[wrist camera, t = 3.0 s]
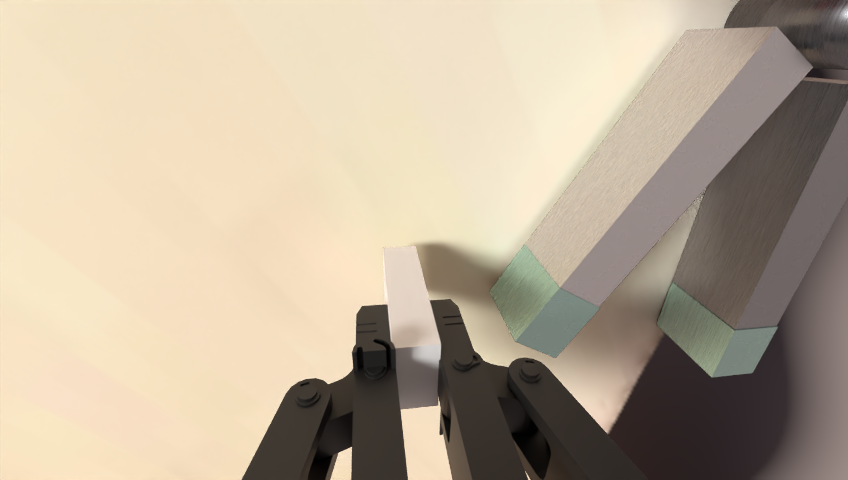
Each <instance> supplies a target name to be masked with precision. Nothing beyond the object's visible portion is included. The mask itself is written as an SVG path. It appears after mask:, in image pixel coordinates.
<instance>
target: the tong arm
mask: <svg viewBox="0 0 848 480" xmlns="http://www.w3.org/2000/svg"><path fill="white" fill-rule="evenodd" d="M812 68H813V66H812V65H811V64H810V63H809V62H808V61H807V60H806V59H805V57H804V56H803V55H802V54H801V53H800V52H799V51H798V50H797V49H796V47H795V46H794V45H793V44H792V43H791V42H790V41H789V40H788V39H787V37H786V36H785V35H784V34H783V33H782V32H781V31H780V30H779V29H778V27H751V28H725V29H700V30H686V31H685V33H684V34H683V35H682V37H681V38H680V39H679V41H678V42H677V43H676V45H675V46H674V47H673V49H672V50H671V51H670V52H669V54H668V55H667V56H666V58H665V59H664V60H663V62H662V63H661V64H660V66H659V67H658V68H657V70H656V71H655V72H654V74H653V75H652V76H651V78H650V79H649V80H648V82H647V83H646V84H645V86H644V87H643V88H642V90H641V91H640V92H639V94H638V95H637V96H636V98H635V99H634V100H633V102H632V103H631V104H630V106H629V107H628V108H627V110H626V111H625V112H624V114H623V115H622V116H621V118H620V119H619V120H618V121H617V123H616V124H615V125H614V127H613V128H612V129H611V131H610V132H609V133H608V135H607V136H606V137H605V139H604V140H603V141H602V143H601V144H600V145H599V147H598V148H597V149H596V151H595V152H594V153H593V155H592V156H591V157H590V159H589V160H588V161H587V163H586V164H585V165H584V167H583V168H582V169H581V171H580V172H579V173H578V175H577V176H576V177H575V179H574V180H573V181H572V183H571V184H570V185H569V187H568V188H567V189H566V190H565V192H564V193H563V194H562V196H561V197H560V198H559V200H558V201H557V202H556V204H555V205H554V206H553V208H552V209H551V210H550V212H549V213H548V214H547V216H546V217H545V218H544V220H543V221H542V222H541V224H540V225H539V226H538V228H537V229H536V230H535V232H534V233H533V234H532V236H531V237H530V238H529V240H528V241H527V242H526V244H524V246H523V247H522V248H521V250H520V251H519V252H518V254H517V255H516V256H515V258H514V259H513V260H512V262H511V263H510V264H509V266H508V267H507V268H506V270H505V271H504V272H503V274H502V275H501V276H500V278H499V279H498V280H497V282H496V283H495V284H494V286H493V287H492V288H491V290H490V293H491V295H492V297H493V299H494V301H495V303H496V305H497V307H498V309H499V311H500V313H501V315H502V317H503V319H504V321H505V323H506V325H507V327H508V329H509V330H510V332H511V334H512V336H513V338H514V340H515V342H518V343H520V344H523V345H525V346H527V347H530V348H532V349H535V350H537V351H540V352H542V353H545V354H547V355H549V356H552V357H554V358H556V357H557V356H558V355H559V354H560V352H561V351H562V350H563V349H564V348H565V347H566V346H567V345H568V344H569V342H570V341H571V340H572V339H573V338H574V337H575V336H576V335H577V333H578V332H579V331H580V330H581V329H582V328H583V327H584V326H585V325H586V323H587V322H588V321H589V320H590V319H591V318H592V317H593V316H594V315H595V313H596V312H597V311H598V310H599V309H600V308H599V306H600V305H601V304H602V303H603V302H604V301H605V300H606V298H607V297H608V296H609V295H610V294H611V293H612V292H613V291H614V290H615V288H616V287H617V286H618V285H619V284H620V283H621V282H622V281H623V279H624V278H625V277H626V276H627V275H628V274H629V273H630V272H631V271H632V269H633V268H634V267H635V266H636V265H637V264H638V263H639V262H640V260H641V259H642V258H643V257H644V256H645V255H646V254H647V253H648V251H649V250H650V249H651V248H652V247H653V246H654V245H655V244H656V243H657V241H658V240H659V239H660V238H661V237H662V236H663V235H664V234H665V232H666V231H667V230H668V229H669V228H670V227H671V226H672V225H673V224H674V222H675V221H676V220H677V219H678V218H679V217H680V216H681V215H682V213H683V212H684V211H685V210H686V209H687V208H688V207H689V206H690V204H691V203H692V202H693V201H694V200H695V199H696V198H697V197H698V196H699V194H700V193H701V192H702V191H703V190H704V189H705V188H706V187H707V185H708V184H709V183H710V182H711V181H712V180H713V179H714V178H715V177H716V175H717V174H718V173H719V172H720V171H721V170H722V169H723V168H724V166H725V165H726V164H727V163H728V162H729V161H730V160H731V159H732V157H733V156H734V155H735V154H736V153H737V152H738V151H739V150H740V149H741V147H742V146H743V145H744V144H745V143H746V142H747V141H748V140H749V138H750V137H751V136H752V135H753V134H754V133H755V132H756V131H757V130H758V128H759V127H760V126H761V125H762V124H763V123H764V122H765V121H766V119H767V118H768V117H769V116H770V115H771V114H772V113H773V112H774V110H775V109H776V108H777V107H778V106H779V105H780V104H781V103H782V102H783V100H784V99H785V98H786V97H787V96H788V95H789V94H790V93H791V91H792V90H793V89H794V88H795V87H796V86H797V85H798V84H799V83H800V81H801V80H802V79H803V78H804V77H805V76H806V75H807V74H808V72H809V71H810V70H811V69H812Z"/></svg>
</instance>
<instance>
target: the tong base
mask: <svg viewBox="0 0 848 480" xmlns="http://www.w3.org/2000/svg"><path fill="white" fill-rule="evenodd" d="M751 27H778V29H779V30H780V31H781V32H782V33H783V34H784V35H785V36H786V37H787V39H788V40H789V41H790V42H791V43H792V44H793V45H794V46H795V47H796V49H797V50H798V51H799V52H800V53H801V54H802V55H803V56H804V57H805V59H806V60H807V61H808V62H809V63H810V64H811V65H812V66H813V68H827V69H844V70H848V0H740V1H739V2H738V3H737V4H736V5H735V7H734V8H733V10H732V11H731V13H730V15H729V17H728V19H727V21H726V23H725V26H724V29H725V28H751ZM847 197H848V81H847V80H835V79H822V78H809V77H804V78H803V79H802V80H801V81H800V83H799V84H798V85H797V86H796V87H795V88H794V89H793V90H792V91H791V93H790V94H789V95H788V96H787V97H786V98H785V99H784V100H783V102H782V103H781V104H780V105H779V106H778V107H777V108H776V109H775V110H774V112H773V113H772V114H771V115H770V116H769V117H768V118H767V119H766V121H765V122H764V123H763V124H762V125H761V126H760V127H759V128H758V130H757V131H756V132H755V133H754V134H753V135H752V136H751V137H750V138H749V140H748V141H747V142H746V143H745V144H744V145H743V146H742V147H741V149H740V150H739V151H738V152H737V153H736V154H735V155H734V156H733V157H732V159H731V160H730V161H729V162H728V163H727V164H726V165H725V166H724V168H723V169H722V170H721V171H720V172H719V173H718V174H717V175H716V177H715V178H714V179H713V180H712V181H711V182H710V183H709V184H708V187H707V189H706V192H705V195H704V197H703V200H702V203H701V205H700V208H699V211H698V214H697V216H696V219H695V222H694V224H693V227H692V230H691V232H690V235H689V238H688V240H687V243H686V246H685V249H684V251H683V254H682V257H681V259H680V262H679V265H678V267H677V270H676V273H675V276H674V278H673V281H672V284H671V286H670V289H669V292H668V294H667V297H666V300H665V302H664V305H663V308H662V311H661V313H660V316H659V319H658V321H657V324H656V325H657V326H659V327H660V328H661V329H662V330H663V331H664V332H665V333H666V334H667V335H668V336H669V337H670V338H671V339H672V340H673V341H674V342H675V343H676V344H677V345H678V346H679V347H681V349H683V350H684V351H685V352H686V353H687V354H688V355H689V356H690V357H691V358H692V359H693V360H694V361H695V362H696V363H697V364H698V365H699V366H700V367H701V368H702V369H703V370H704V371H705V372H707V373H708V374H709V375H710V376H711V377H720V376H730V375H739V374H748V373H753V371H754V369H755V368H756V366H757V364H758V362H759V360H760V359H761V357H762V355H763V353H764V351H765V350H766V348H767V346H768V344H769V342H770V341H771V339H772V337H773V335H774V333H775V332H776V330H777V328H778V326H777V324H778V322H779V321H780V319H781V317H782V315H783V313H784V311H785V310H786V308H787V306H788V304H789V302H790V301H791V299H792V297H793V295H794V293H795V292H796V290H797V288H798V286H799V284H800V282H801V281H802V279H803V277H804V275H805V274H806V271H807V270H808V268H809V266H810V264H811V263H812V261H813V259H814V257H815V255H816V254H817V252H818V250H819V248H820V246H821V245H822V243H823V241H824V239H825V237H826V235H827V234H828V232H829V230H830V228H831V226H832V225H833V223H834V221H835V219H836V217H837V215H838V214H839V212H840V210H841V208H842V206H843V204H844V203H845V201H846V199H847Z"/></svg>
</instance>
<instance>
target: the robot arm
mask: <svg viewBox="0 0 848 480" xmlns="http://www.w3.org/2000/svg"><path fill="white" fill-rule="evenodd" d="M383 268H384V297H385V305H371V306H362V307H361V309H360V310H359V312H358V313H357V317H356V345H355V346H354V348H353V351H352V357H353V370H352V371H351V372H350V373H349V374H348V375H347V376H346V377H344V378H343V379H341V380H339V381H336V382H334V383H331V384H327V383H326V382H325V381H323V380H320V379H316V378H314V379H305V380H303V381H300V382H298V383H296V384H295V385H293V386H292V387H291V388H290V389H289V391H288V392H287V393H286V395H285V397H284V399H283V401H282V403H281V404H280V406H279V408H278V410H277V412H276V414H275V416H274V418H273V420H272V422H271V424H270V426H269V428H268V430H267V432H266V434H265V436H264V437H263V439H262V441H261V443H260V445H259V447H258V449H257V451H256V453H255V455H254V457H253V459H252V461H251V463H250V465H249V467H248V469H247V471H246V472H245V474H244V476H243V478H242V480H330V478H331V475H332V472H333V469H334V465H335V462H336V459H337V456H338V453H339V452H341V451H343V450H345V449H348V448H350V447H352V475H351V480H408V477H407V467H406V458H405V448H404V439H403V430H402V420H401V411H400V409H409V408H418V407H428V406H437V405H438V396H439V401H440V406H441V415H440V435H444V439H445V444H446V449H447V454H448V459H449V464H450V469H451V474H452V479H453V480H528V478H527V475H526V473H527V474H528V476H529V478H530V479H531V480H648V479H647V478H646V476H645V475H644V474H643V473H642V472H641V471H640V470H639V469H638V468H637V466H636V465H635V464H634V463H633V462H632V461H631V460H630V459H629V458H628V456H627V455H626V454H625V453H624V452H623V451H622V450H621V449H620V448H619V447H618V445H617V444H616V443H615V442H614V441H613V440H612V439H611V438H610V437H609V435H608V434H607V433H606V432H605V431H604V430H603V429H602V428H601V427H600V425H599V424H598V423H597V422H596V421H595V420H594V419H593V418H592V417H591V415H590V414H589V413H588V412H587V411H586V410H585V409H584V408H583V407H582V406H581V404H580V403H579V402H578V401H577V400H576V399H575V398H574V397H573V396H572V394H571V393H570V392H569V391H568V390H567V389H566V388H565V387H564V386H563V384H562V383H561V382H560V381H559V380H558V379H557V378H556V377H555V376H554V375H553V373H552V372H551V371H550V370H549V369H548V368H547V367H546V366H545V365H544V364H542V363H541V362H539V361H537V360H534V359H530V358H519V359H516V360H514V361H512V363H511V364H510V366H509V367H504V366H498V365H493V364H490V363H487V362H485V361H483V359H482V358H481V356H480V355H479V354H478V353H476V352H475V351H474V349H473V347H472V344H471V341H470V338H469V336H468V333H467V330H466V327H465V324H464V322H463V319H462V317H461V313H460V311H459V308H458V306H457V305H456V304H455V303H454V302H453V301H452V300H451V299H446V300H431V301H430V300H429V296H428V292H427V288H426V284H425V281H424V277H423V273H422V269H421V265H420V261H419V257H418V254H417V250H416V246H401V247H383ZM525 471H526V473H525Z"/></svg>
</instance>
